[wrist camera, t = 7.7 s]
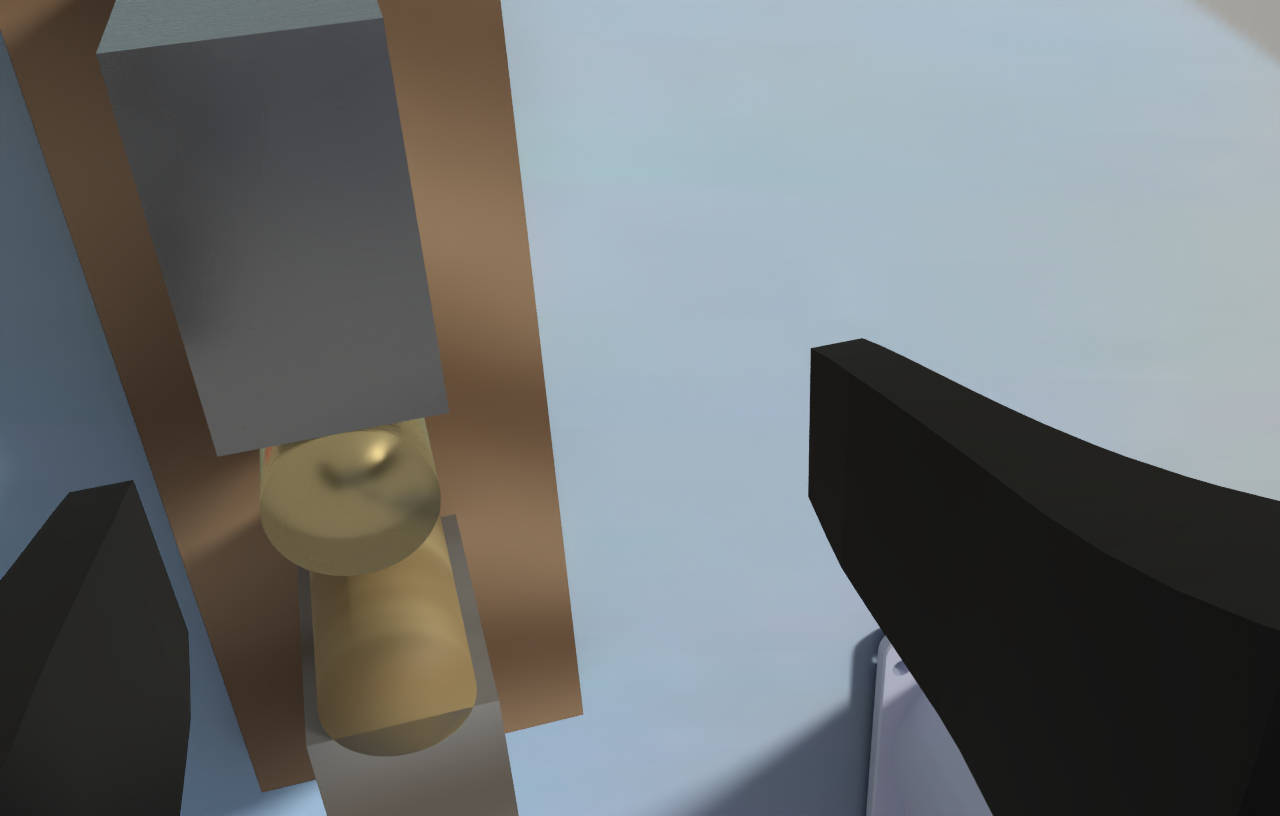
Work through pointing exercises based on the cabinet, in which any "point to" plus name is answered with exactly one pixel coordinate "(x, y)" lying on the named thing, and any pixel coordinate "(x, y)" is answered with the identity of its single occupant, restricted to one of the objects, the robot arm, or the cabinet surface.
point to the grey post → (290, 258)
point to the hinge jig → (460, 440)
